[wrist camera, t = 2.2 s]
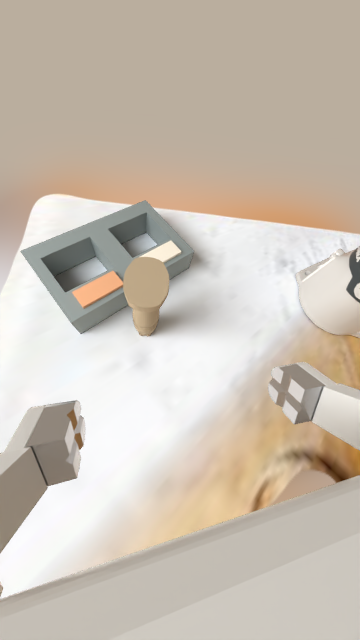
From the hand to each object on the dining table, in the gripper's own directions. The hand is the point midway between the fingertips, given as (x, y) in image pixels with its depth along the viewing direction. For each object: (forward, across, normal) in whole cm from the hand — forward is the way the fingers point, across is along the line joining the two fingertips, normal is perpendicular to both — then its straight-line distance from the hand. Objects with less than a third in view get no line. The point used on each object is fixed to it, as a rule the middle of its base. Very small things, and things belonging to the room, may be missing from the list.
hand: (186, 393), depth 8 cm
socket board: (+36, +4, -1) cm, 36 cm away
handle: (+26, 0, +9) cm, 28 cm away
